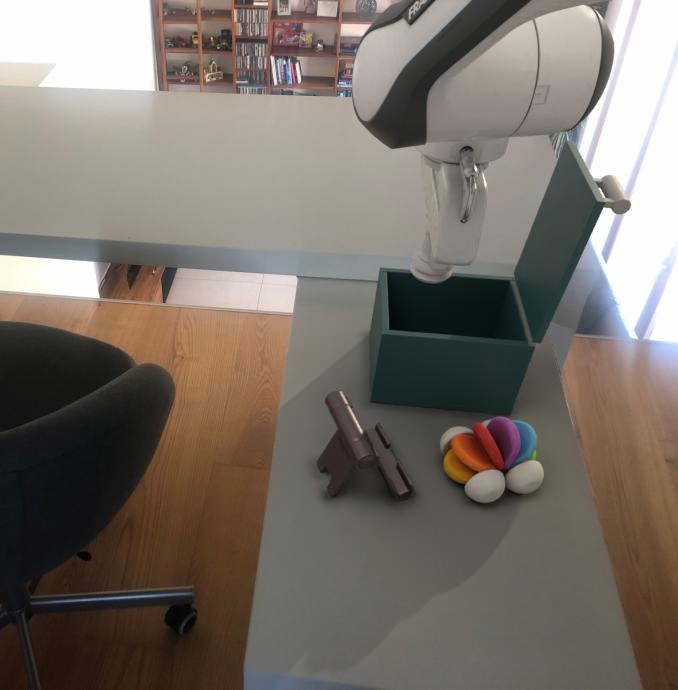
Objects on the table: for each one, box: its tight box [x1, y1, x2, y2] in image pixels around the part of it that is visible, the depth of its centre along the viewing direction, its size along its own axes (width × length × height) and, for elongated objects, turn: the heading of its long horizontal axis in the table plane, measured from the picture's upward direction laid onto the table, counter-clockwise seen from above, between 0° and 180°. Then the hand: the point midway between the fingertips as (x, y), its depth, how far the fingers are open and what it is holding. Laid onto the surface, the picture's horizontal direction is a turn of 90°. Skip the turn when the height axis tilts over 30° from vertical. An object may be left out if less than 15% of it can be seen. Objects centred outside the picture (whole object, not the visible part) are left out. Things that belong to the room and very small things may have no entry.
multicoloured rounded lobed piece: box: [439, 416, 545, 504], centre depth 70 cm, size 8×10×7 cm
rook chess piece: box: [409, 212, 454, 284], centre depth 72 cm, size 4×4×8 cm
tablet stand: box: [316, 390, 414, 501], centre depth 70 cm, size 9×8×8 cm
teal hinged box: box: [369, 267, 536, 416], centre depth 80 cm, size 16×13×10 cm
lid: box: [513, 139, 632, 344], centre depth 70 cm, size 16×13×5 cm
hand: (435, 252), depth 73 cm, fingers closed on rook chess piece, 3 cm apart
